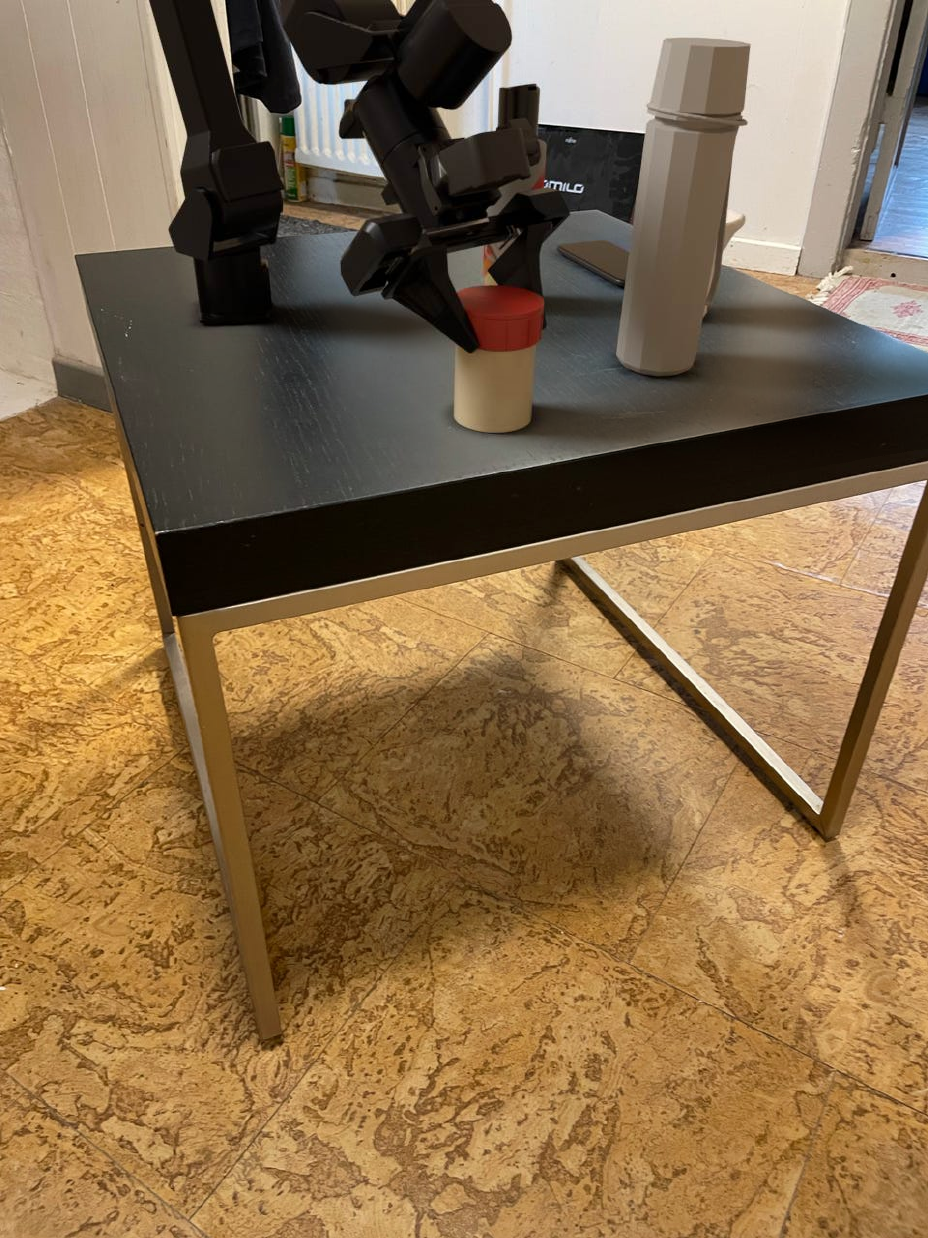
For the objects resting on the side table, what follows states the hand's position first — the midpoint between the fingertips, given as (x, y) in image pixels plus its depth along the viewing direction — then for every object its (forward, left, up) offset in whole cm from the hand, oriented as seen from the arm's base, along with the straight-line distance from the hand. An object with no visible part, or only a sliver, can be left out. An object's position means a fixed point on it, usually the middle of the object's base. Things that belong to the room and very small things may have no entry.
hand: (509, 340), depth 70 cm
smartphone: (+22, +39, -7) cm, 46 cm away
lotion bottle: (+7, +28, -7) cm, 30 cm away
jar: (-1, +1, -7) cm, 7 cm away
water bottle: (+17, +10, -7) cm, 21 cm away
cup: (+24, +23, -7) cm, 34 cm away
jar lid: (-1, +1, +2) cm, 3 cm away
